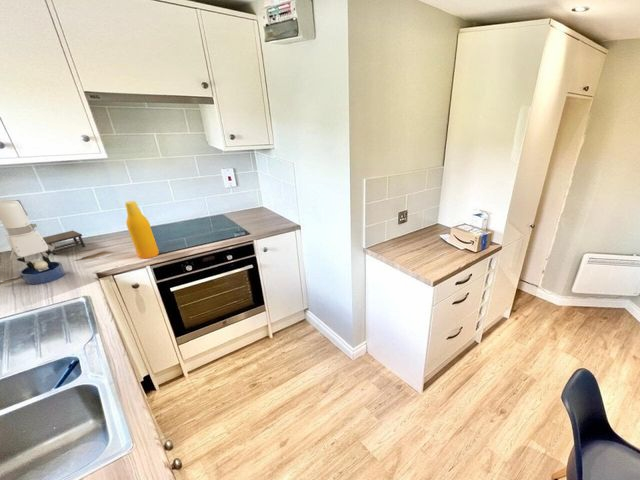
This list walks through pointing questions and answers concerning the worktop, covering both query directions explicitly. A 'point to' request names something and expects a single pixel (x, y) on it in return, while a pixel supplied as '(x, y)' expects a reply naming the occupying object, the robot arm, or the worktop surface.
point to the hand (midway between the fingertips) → (40, 266)
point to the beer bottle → (140, 232)
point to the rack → (63, 237)
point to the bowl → (43, 274)
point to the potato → (40, 264)
